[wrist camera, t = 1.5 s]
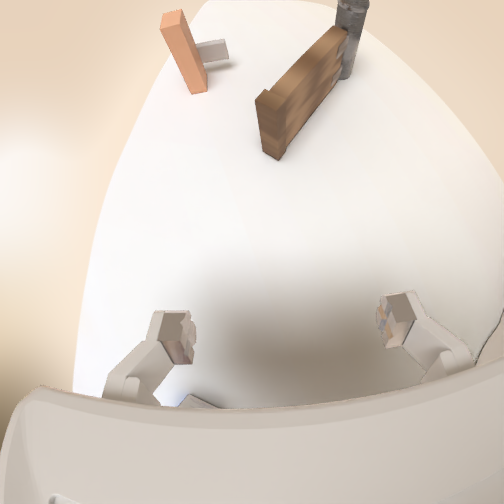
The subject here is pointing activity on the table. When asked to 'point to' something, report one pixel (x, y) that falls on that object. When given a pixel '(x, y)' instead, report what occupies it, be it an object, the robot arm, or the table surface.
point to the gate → (299, 92)
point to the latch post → (190, 50)
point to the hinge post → (350, 30)
